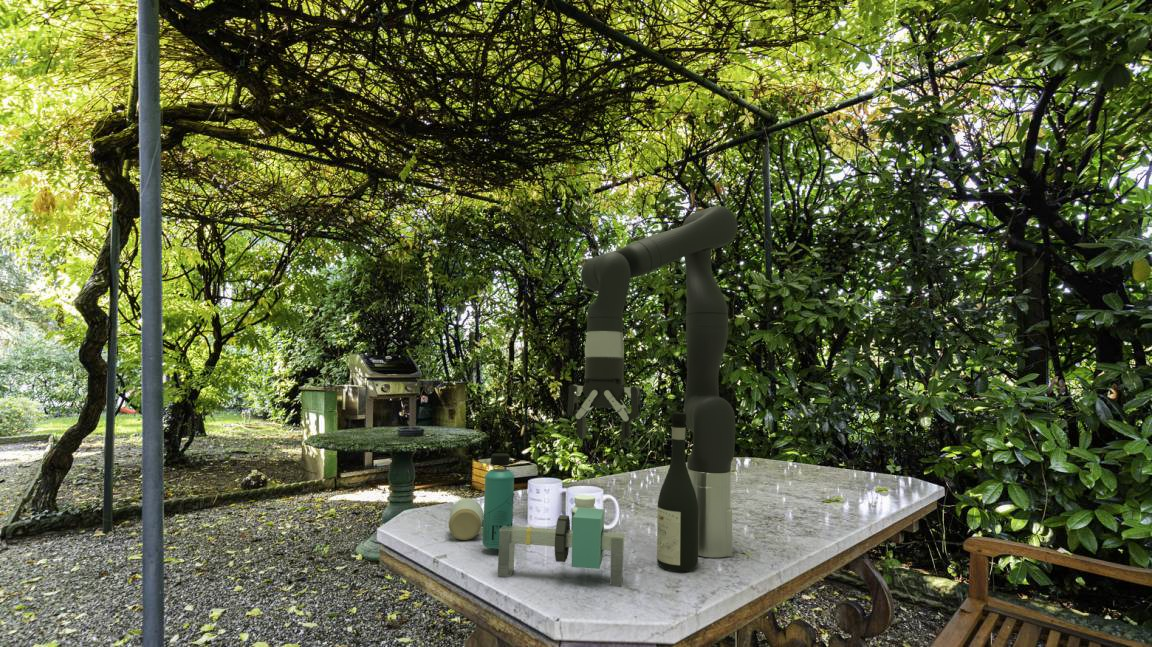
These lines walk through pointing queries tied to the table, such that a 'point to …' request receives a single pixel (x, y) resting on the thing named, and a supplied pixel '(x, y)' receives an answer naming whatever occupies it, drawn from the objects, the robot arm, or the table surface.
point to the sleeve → (587, 538)
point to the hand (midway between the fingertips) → (603, 439)
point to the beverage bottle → (497, 500)
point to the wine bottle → (677, 508)
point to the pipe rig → (547, 538)
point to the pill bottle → (583, 504)
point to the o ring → (561, 538)
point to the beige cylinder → (466, 519)
